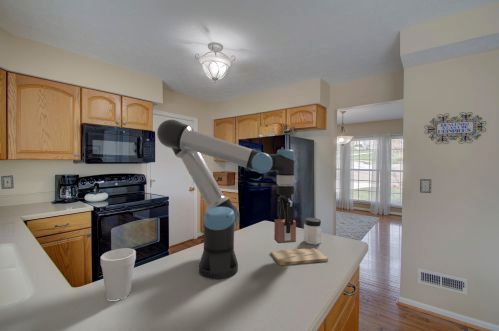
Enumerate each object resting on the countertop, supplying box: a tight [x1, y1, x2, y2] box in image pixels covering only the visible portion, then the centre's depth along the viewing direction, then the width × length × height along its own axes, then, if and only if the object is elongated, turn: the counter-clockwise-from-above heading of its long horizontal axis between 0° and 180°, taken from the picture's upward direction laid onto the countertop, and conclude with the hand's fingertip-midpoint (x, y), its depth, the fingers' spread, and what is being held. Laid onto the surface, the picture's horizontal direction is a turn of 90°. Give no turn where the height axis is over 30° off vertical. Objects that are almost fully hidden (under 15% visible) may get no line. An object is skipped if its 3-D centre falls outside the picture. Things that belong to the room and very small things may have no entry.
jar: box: [303, 217, 322, 246], centre depth 122 cm, size 9×8×12 cm
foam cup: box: [100, 247, 137, 300], centre depth 71 cm, size 10×9×13 cm
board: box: [270, 247, 329, 266], centre depth 102 cm, size 22×12×1 cm, turn 103°
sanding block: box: [273, 218, 297, 244], centre depth 100 cm, size 8×5×9 cm, turn 103°
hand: (284, 237), depth 100 cm, fingers closed on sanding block, 5 cm apart
